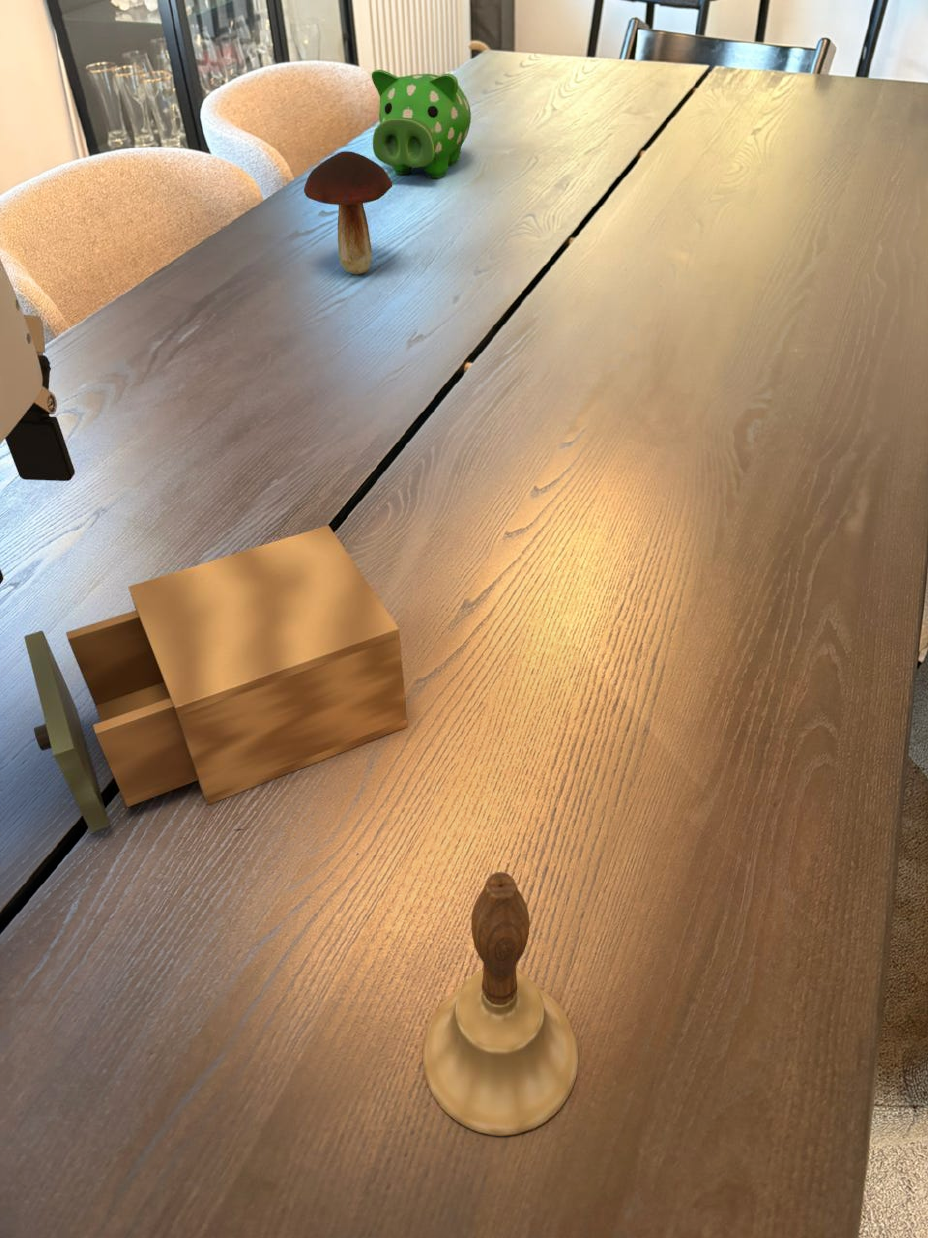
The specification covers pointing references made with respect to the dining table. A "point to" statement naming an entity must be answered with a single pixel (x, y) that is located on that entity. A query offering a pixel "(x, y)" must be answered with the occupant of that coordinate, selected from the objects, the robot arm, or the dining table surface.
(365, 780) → the dining table surface
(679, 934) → the dining table surface
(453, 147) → the piggy bank
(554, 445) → the dining table surface
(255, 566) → the cabinet
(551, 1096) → the hand bell
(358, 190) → the decorative mushroom
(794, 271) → the dining table surface
